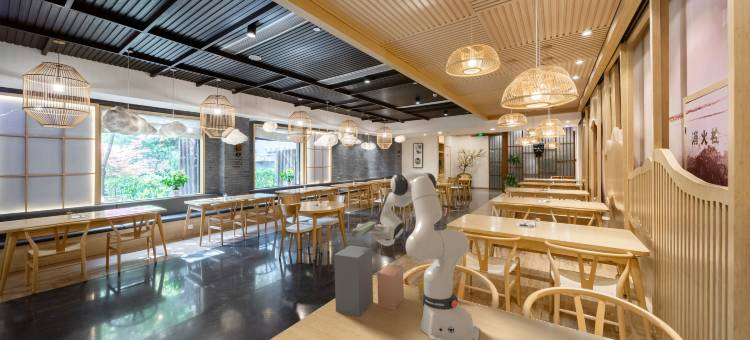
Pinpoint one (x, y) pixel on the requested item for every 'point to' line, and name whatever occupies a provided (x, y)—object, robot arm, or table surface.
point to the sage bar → (363, 229)
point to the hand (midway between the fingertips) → (369, 225)
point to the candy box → (421, 289)
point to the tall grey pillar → (353, 280)
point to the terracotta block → (390, 286)
